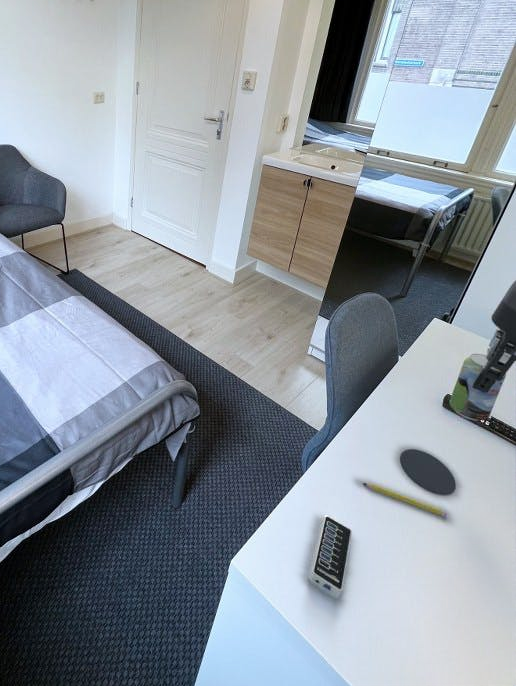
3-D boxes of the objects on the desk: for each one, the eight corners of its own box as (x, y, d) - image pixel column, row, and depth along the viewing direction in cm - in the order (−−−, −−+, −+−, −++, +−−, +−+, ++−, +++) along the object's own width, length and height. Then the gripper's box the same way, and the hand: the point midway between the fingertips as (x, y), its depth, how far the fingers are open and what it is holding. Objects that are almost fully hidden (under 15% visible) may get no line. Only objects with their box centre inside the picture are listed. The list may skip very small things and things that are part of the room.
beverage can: (473, 429, 77) (506, 382, 71) (433, 400, 83) (461, 353, 77) (492, 420, 80) (526, 373, 74) (453, 391, 85) (481, 346, 80)
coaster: (458, 472, 85) (459, 471, 85) (450, 505, 79) (450, 504, 79) (406, 441, 91) (406, 440, 91) (394, 469, 84) (395, 468, 84)
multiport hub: (347, 537, 72) (352, 529, 71) (337, 599, 64) (342, 592, 63) (321, 521, 74) (325, 513, 73) (307, 580, 66) (311, 572, 65)
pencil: (360, 482, 82) (362, 479, 81) (443, 513, 78) (446, 510, 77) (361, 486, 81) (363, 483, 80) (444, 518, 77) (447, 515, 76)
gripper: (561, 336, 63) (502, 413, 71) (562, 301, 72) (510, 373, 80) (499, 312, 67) (451, 387, 75) (508, 282, 77) (464, 352, 85)
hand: (482, 380), depth 78 cm, fingers closed on beverage can, 6 cm apart
